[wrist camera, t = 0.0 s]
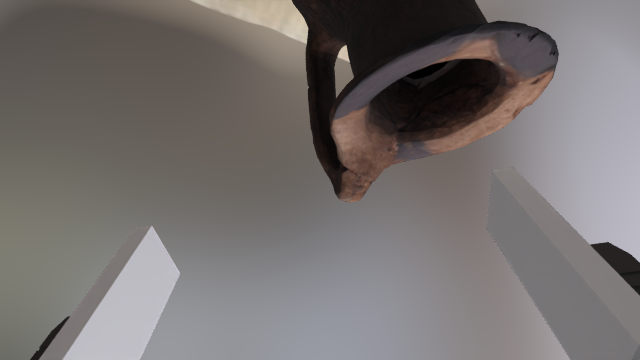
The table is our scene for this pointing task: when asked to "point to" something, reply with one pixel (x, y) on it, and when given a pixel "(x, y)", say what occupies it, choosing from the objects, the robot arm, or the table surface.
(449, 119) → the jug
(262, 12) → the table surface
